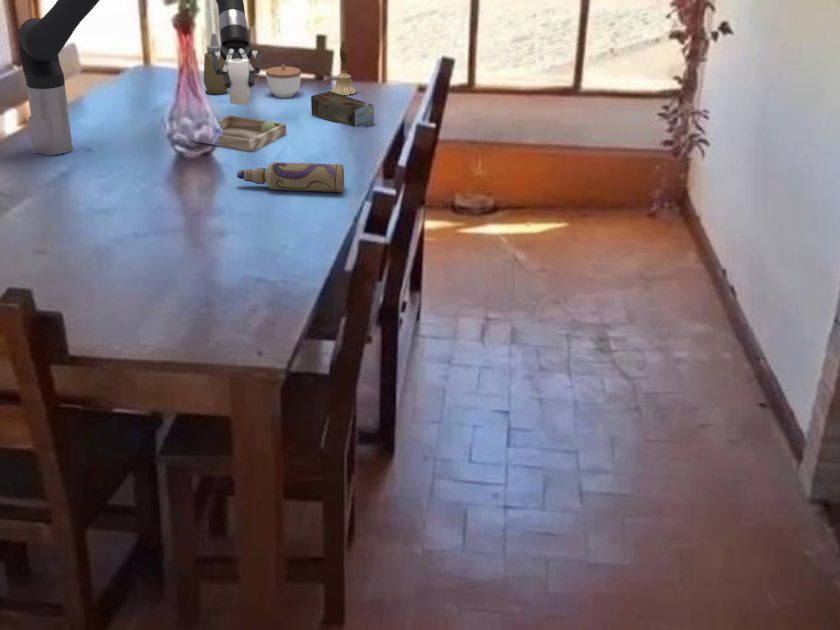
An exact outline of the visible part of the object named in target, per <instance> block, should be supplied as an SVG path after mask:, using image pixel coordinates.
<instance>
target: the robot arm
mask: <svg viewBox="0 0 840 630" xmlns="http://www.w3.org/2000/svg"><path fill="white" fill-rule="evenodd" d="M100 1H101V0H56V2H55V3H54V4H53V6H52V7H51V8H50V9H49V10H48V11H47V12H46V14H45V15H43V16H42V17H41V18H39V17H33V18H28V19H26V20H25V21H24V22H22V23H21V25H20V26H19V29H18V34H17V43H18V49H19V50H18V51H19V55H20V61H21V62H20V63H21V67H22V72H23V75H24V79H25V83H26V89H27V90H26V91H27V96H28V97H27V98H28V104H29V111H30V115H29V117H28V119H27V120H28V125H29V126H28V127H29V132H30V141H31V148H32V152H36V153H35V154H38V153H42V154H41V155H43V154H47V155H46V156H49V155H53V156H56V155H55V154H58V155H63V154H62V153H64V154H66V153H67V154H68V153H70V152H71V151H72V150H73V148H74V147H73V140H72V139H73V138H72V132H71V130H72V129H71V122H70V117H69V116H70V114H69V107H68V106H69V105H68V100H67V92H66V91H67V90H66V89H67V88H66V82H65V75H64V71H63V69H62V66H61V61H60V56H59V54H60V52H61V51H62V50H63V49H64V47H65V45H66V44H67V43H68V41H69V39H70V38H71V36H72V35H73V33H74V32H75V30H76V28H78V26H79V25H80V23H82V21H83V20H84V19H85V17H86V16H87V15H89V13H90V12H91V11H92V10H93V9H94V8H95V7H96V5H97V4H98V3H100ZM215 1H216V4H217V11H218V30H219V37H220V45H221V50H220V51H219V52H214V51H211V61H212V64H213V67H214V70H215V73H216V74H217V75H222V76H223V79H224V86H227V89H229V88H230V82H229V74H228V60H230V59H247V60H248V63H249V86H250V89H251V88H253V87H254V86H255V83H256V80H255V74H258V75H259V74H260V73H261V72H260V71H261V65H262V56H263V50H262V49H258V50H252V48H251V45H250V39H249V38H250V37H249V27H248V21H247V18H246V12H245V11H246V9H245V4H244V3H245V2H244V0H215ZM220 56H221V57H222V58H223V59H224V60H225V65H224V67H223V68H220V65H219V63H218V60H219V57H220ZM252 56H253V59H254V60H255V66H252V63H251V61H250V58H251V57H252ZM69 151H70V152H69Z"/></svg>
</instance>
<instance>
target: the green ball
mask: <svg viewBox="0 0 840 630" xmlns="http://www.w3.org/2000/svg"><path fill="white" fill-rule="evenodd" d="M265 121H266V122H264V123H263V124H262V126H261V130H262V132H263V133H265V132H267V131H269V130H271V129H273V128H275V127H276V126H275V124H274V123H273V122H274V121H271V120H265Z"/></svg>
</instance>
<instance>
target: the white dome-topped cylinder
mask: <svg viewBox="0 0 840 630" xmlns="http://www.w3.org/2000/svg"><path fill="white" fill-rule="evenodd" d="M228 74H229V82H230V88H228V91H229V104H231V105H234V106H235V105H236V106H237V105H239V106H240V105H241V106H242V105H243V106H244V105H248V104H250V103H251V91H250V90H251V88H250V86H249V63H248V60H247V59H230V60H228Z"/></svg>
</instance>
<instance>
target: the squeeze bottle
mask: <svg viewBox="0 0 840 630" xmlns="http://www.w3.org/2000/svg"><path fill="white" fill-rule="evenodd" d="M210 38H211V40H210V44H208V45H207V46H206V48H207V49H206V51H207V52H206V53H204V59H203V60H204V61H203V84H204V86H205V89H206V91H207V93H208V94H212V95H223V94H225V93H227V92H228V88H227V86H224V79H223V76H222V75H217V74H216V73H215V70H214V67H213V64H212V61H211V51H214V52H219V51H220V50H221V44H220V43H219V40H218V37H217V34H216V33H211V37H210ZM218 63H219V65H220V68H223V67H224V65H225V60H224V59H223V58H222V57H221V56H220V57H219V60H218Z"/></svg>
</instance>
